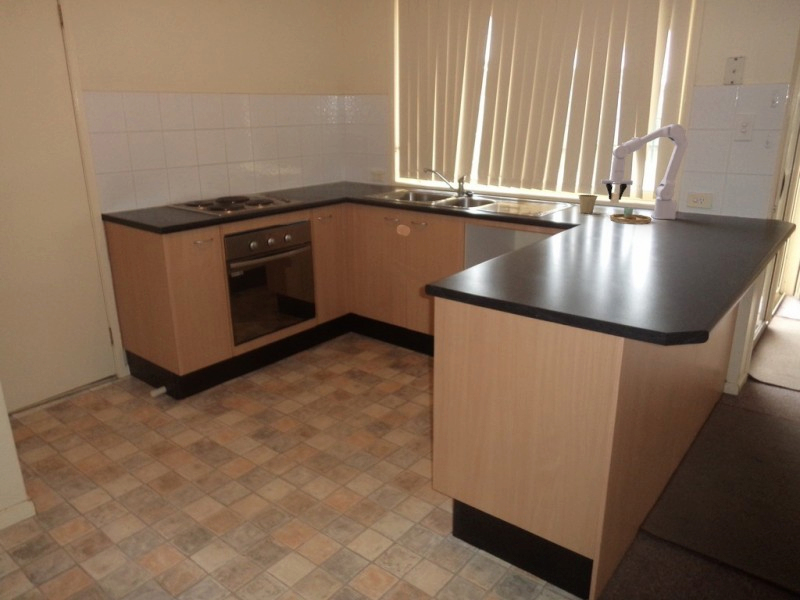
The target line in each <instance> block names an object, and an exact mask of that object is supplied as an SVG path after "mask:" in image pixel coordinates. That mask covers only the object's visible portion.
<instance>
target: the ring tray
mask: <svg viewBox="0 0 800 600" xmlns="http://www.w3.org/2000/svg"><path fill="white" fill-rule="evenodd" d="M623 216H624V213H613V214H610V215H609V219H610V221H612V222H615V223H620V224H629V225H631V224H632V225H644V224H646V225H647V224H650V223H651V222H652V218H653V217H651V216H647V215H643V214H634V213H633V214H632V215H625V218H623Z"/></svg>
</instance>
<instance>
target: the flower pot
mask: <svg viewBox="0 0 800 600" xmlns="http://www.w3.org/2000/svg"><path fill="white" fill-rule="evenodd" d="M598 196H599V195H595V194H594V195H593V194H578V199H579V209H580V210H579V212H580V213H582V214H593V213H594V209H595V205H596V201H597V199H598Z"/></svg>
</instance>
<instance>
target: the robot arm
mask: <svg viewBox="0 0 800 600" xmlns="http://www.w3.org/2000/svg"><path fill="white" fill-rule="evenodd" d="M686 131H687V130H686V129H685V128H684V126H683V125H682V124H679V123H678V124H677V123H676V124H675V123H670V124H668V125H665V126H661V127H660V128H658V129H656V130H654V131H652V132H650V133H648V134H646V135H644V136H642V137H637V136H636V137H631V138H630V140H628V141H626V142H622V143H621V145H617V146H615V147H614V148H613V150H612V156H613V159H612V166H611V176H610V179H600V184H601V185H605V187H606V189H607V194H608V199H609V200H610V199H611V193H613V192H612V191H613V185H619V192H618V193H620V195H619V201H620V200H622V197H623V194H624V192H625V190H626V189H627V187H628V186H629V185H630V186H633V184H634V183H633V182H634V181H633V180H627V179H626V180H625V179H624V178H625V177H624V176H625V168H626V167H625V166H626V157H627V156H628V155H630V154H633V153H634V152H637V151H639V150H641V149H643V146H644V145H645V144H647V143H650V142H652V141H654V140H656V139H659V138H668V139H670V140H671V142H672V144H673V145H674V147H673V150H672V153H671V156H670V158H669V162H668V165H667V167H666V170H665V173H664V176H663V178H662V179H661V181H660V183H659V185H658V186H657V187H656V189H655V195H656V197H655V203H654V210H653V214H651V215H650V218H653V219H654V220H657V219H659V220H660V219H661V220H662V219H663V220H676V214H677V206H678V205H677V204H678V203H677V201H676V200H675V199H673V197H674V195H675V187H676V186H675V181H676V177H677V175H678V173H679V169H680V166H681V164H682V160H683V158H684V156H685V152H686V150H687V148H688V144H689V143H688V139H687V135H686Z"/></svg>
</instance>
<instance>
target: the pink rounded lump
mask: <svg viewBox="0 0 800 600" xmlns="http://www.w3.org/2000/svg"><path fill="white" fill-rule="evenodd" d="M396 232H397V233H396V234H399V235H401V236H404V237H408V236H409V235H410V233H411V228H410V227H409V226H407V225H404V224H399V225H398V226H397V228H396Z"/></svg>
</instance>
